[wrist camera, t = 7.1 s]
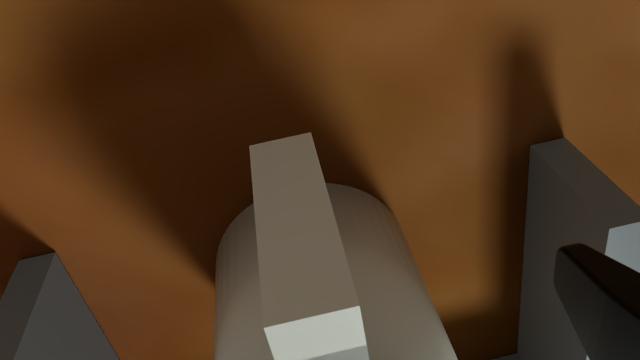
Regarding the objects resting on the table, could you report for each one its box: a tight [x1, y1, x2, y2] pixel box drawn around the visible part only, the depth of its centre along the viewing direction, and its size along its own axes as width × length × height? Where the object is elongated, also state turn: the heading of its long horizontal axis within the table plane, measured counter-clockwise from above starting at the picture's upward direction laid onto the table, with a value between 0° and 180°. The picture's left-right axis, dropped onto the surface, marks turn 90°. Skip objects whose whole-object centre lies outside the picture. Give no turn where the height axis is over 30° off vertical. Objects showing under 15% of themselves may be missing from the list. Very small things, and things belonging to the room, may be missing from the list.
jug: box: [214, 132, 458, 360], centre depth 15 cm, size 10×7×9 cm
